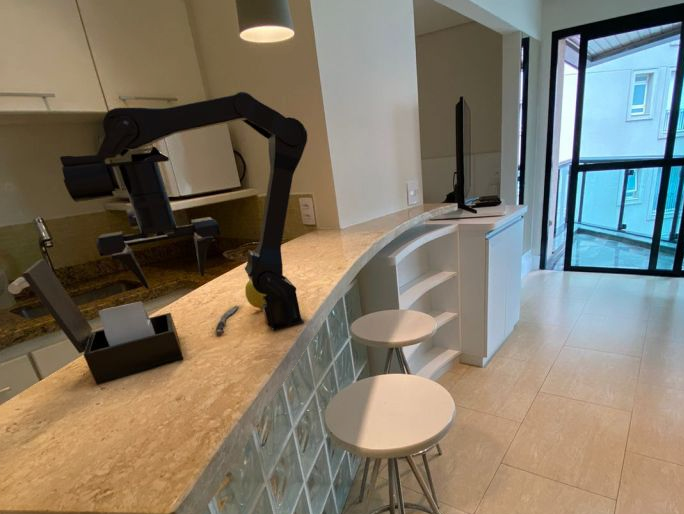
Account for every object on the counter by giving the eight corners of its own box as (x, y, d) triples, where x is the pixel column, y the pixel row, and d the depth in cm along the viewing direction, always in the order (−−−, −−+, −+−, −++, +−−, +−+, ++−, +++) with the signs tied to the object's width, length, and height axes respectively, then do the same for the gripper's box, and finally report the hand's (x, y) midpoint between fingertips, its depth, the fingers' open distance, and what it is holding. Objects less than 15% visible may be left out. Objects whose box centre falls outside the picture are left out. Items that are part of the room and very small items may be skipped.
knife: (229, 329, 83) (213, 332, 82) (230, 333, 83) (214, 335, 82) (238, 304, 98) (225, 305, 97) (238, 306, 98) (225, 308, 98)
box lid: (43, 258, 69) (14, 268, 68) (27, 272, 60) (-8, 284, 58) (92, 328, 76) (66, 339, 74) (84, 351, 66) (54, 364, 65)
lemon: (267, 313, 91) (259, 279, 88) (245, 314, 93) (237, 280, 89) (278, 304, 96) (271, 272, 93) (257, 305, 98) (249, 273, 94)
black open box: (179, 338, 84) (170, 312, 81) (183, 359, 74) (173, 331, 72) (102, 359, 78) (91, 331, 76) (96, 385, 68) (83, 355, 66)
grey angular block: (159, 354, 75) (140, 304, 71) (117, 365, 73) (96, 314, 69) (160, 347, 78) (142, 298, 74) (120, 357, 76) (100, 307, 72)
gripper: (201, 184, 79) (222, 263, 85) (88, 199, 71) (120, 284, 77) (208, 186, 69) (231, 274, 75) (79, 203, 62) (116, 299, 68)
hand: (175, 282), depth 74 cm, fingers open, 9 cm apart
